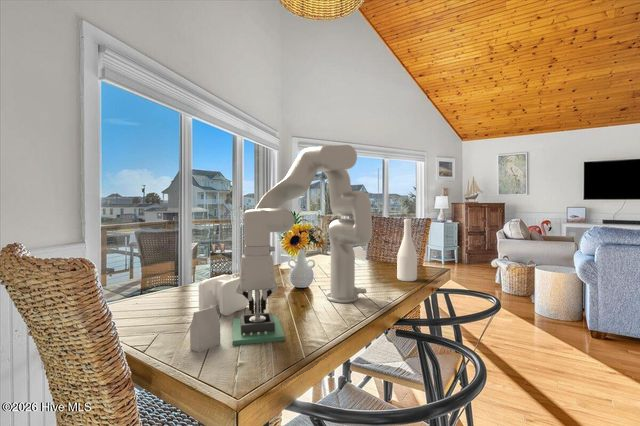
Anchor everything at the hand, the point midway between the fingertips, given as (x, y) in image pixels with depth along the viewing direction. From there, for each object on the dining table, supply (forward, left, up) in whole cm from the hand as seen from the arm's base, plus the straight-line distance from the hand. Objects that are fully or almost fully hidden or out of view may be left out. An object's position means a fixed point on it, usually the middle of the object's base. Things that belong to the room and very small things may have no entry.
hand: (257, 312), depth 104 cm
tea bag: (+14, +8, -6) cm, 17 cm away
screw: (0, 0, -4) cm, 4 cm away
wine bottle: (-76, -52, -6) cm, 92 cm away
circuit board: (0, 0, -6) cm, 6 cm away
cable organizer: (+10, -22, -6) cm, 25 cm away
